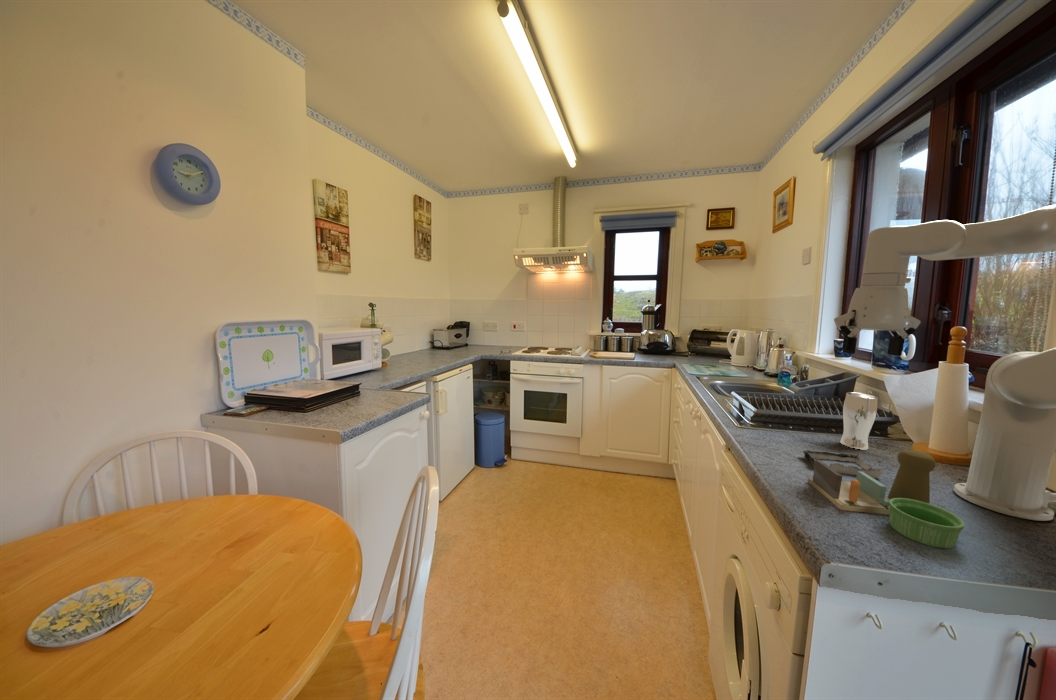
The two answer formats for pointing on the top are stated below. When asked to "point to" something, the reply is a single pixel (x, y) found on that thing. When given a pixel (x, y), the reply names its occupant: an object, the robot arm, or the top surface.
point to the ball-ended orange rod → (854, 491)
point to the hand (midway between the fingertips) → (871, 354)
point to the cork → (913, 476)
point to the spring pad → (872, 487)
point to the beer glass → (858, 419)
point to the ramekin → (925, 522)
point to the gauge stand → (843, 491)
